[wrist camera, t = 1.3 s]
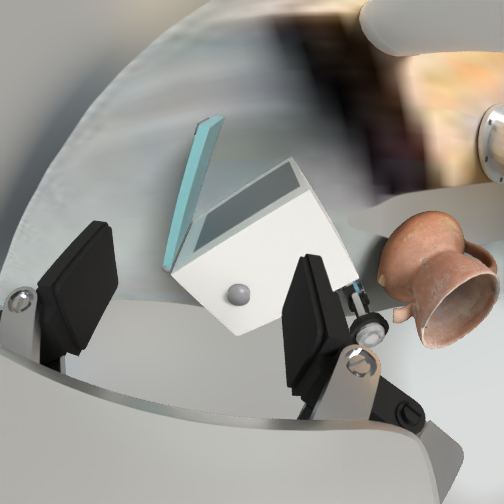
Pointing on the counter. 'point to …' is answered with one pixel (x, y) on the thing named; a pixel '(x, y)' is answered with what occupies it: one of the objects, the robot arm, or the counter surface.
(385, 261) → the ceramic jug
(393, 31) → the bottle
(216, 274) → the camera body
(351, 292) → the push button
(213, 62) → the counter surface
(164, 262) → the side door
